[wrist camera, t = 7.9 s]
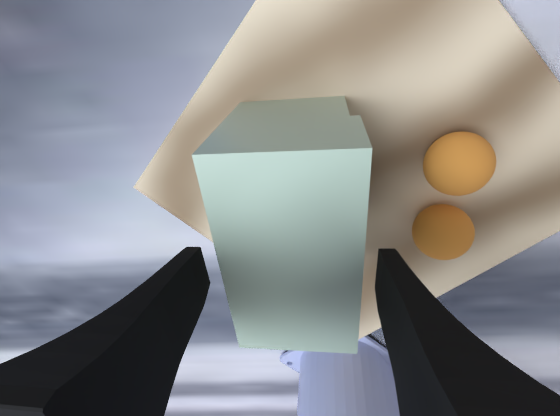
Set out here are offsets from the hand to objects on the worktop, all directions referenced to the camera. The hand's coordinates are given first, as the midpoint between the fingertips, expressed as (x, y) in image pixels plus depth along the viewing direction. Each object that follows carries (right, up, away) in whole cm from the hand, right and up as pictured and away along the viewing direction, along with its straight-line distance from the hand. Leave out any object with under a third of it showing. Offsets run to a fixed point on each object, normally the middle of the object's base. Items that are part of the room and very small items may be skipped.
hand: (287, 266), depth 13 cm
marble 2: (+8, +1, +4) cm, 9 cm away
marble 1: (+8, +4, +2) cm, 10 cm away
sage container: (+1, +4, +5) cm, 7 cm away
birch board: (+4, +4, +6) cm, 8 cm away
